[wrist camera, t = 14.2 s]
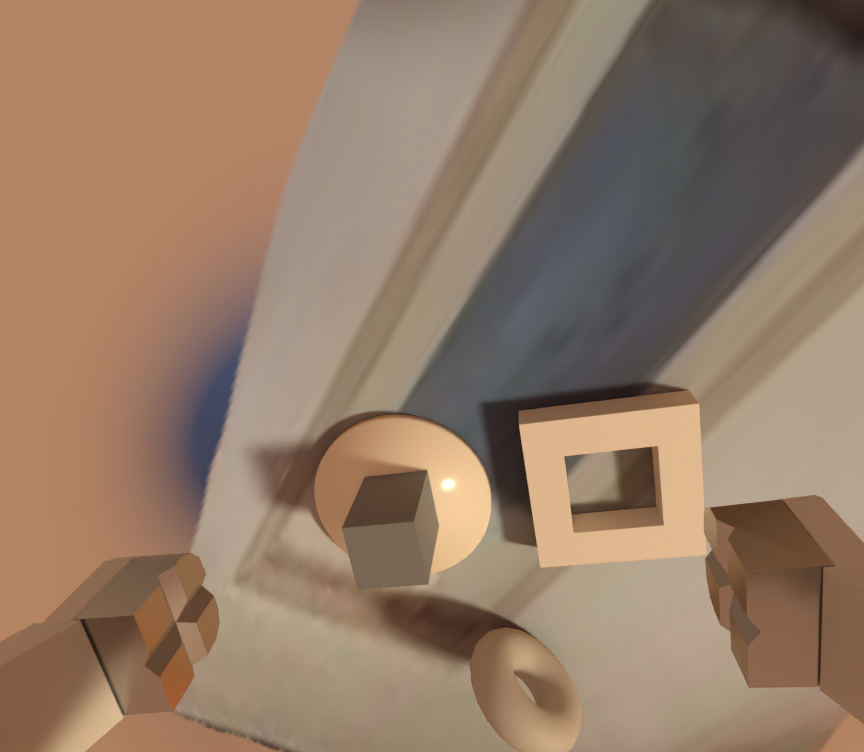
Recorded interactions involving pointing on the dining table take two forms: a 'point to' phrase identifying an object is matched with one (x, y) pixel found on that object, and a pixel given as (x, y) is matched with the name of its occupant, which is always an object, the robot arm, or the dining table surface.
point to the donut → (508, 704)
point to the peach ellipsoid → (407, 452)
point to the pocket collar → (609, 431)
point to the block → (392, 530)
